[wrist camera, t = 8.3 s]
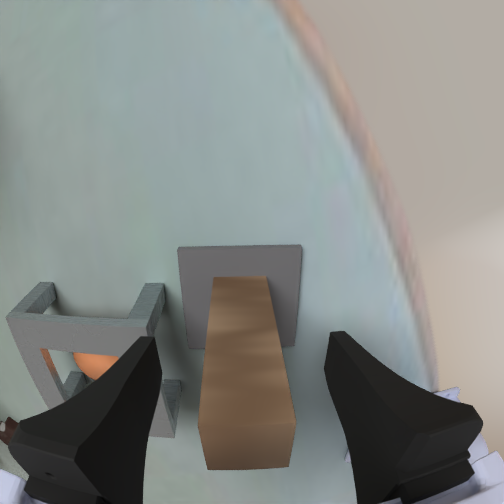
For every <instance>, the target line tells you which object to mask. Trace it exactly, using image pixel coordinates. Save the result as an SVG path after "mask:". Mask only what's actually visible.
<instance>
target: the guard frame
mask: <svg viewBox="0 0 504 504" xmlns="http://www.w3.org/2000/svg"><path fill="white" fill-rule="evenodd" d="M56 298H57V297H56V293H55V290H54V286H53V282H40V283H39V284H38V285H37V286H35V287H34V288H33V289H32V290H31V291H30V292H29V293H28V294H27V295H26V296H25V297H24V298H23V299H22V300H21V301H20V302H19V303H18V305H17V306H16V307H15V308H14V309H13V310H12V311H11V312H10V313H9V314H8V315H7V316H6V320H7V323H8V325H9V328H10V330H11V333H12V335H13V338H14V340H15V342H16V345H17V347H18V349H19V351H20V354H21V356H22V358H23V360H24V362H25V365H26V367H27V369H28V371H29V373H30V375H31V377H32V379H33V381H34V383H35V385H36V387H37V388H38V390H39V392H40V394H41V396H42V398H43V400H44V401H45V403H46V405H47V407H48V408H49V410H50V409H52V408H54V407H56V406H58V405H60V404H62V403H64V402H65V401H67V400H68V399H70V398H72V397H73V396H75V395H77V394H78V393H80V392H81V391H83V390H84V388H85V386H86V384H87V382H86V380H85V377H84V375H83V373H80V372H73V371H71V372H70V374H69V376H68V378H67V379H66V381H65V383H64V385H63V384H62V382H61V379H60V377H59V375H58V373H57V371H56V368H55V366H54V364H53V361H52V359H51V357H50V354H49V352H48V350H47V349H51V350H59V351H67V352H76V353H86V354H96V355H108V356H118V359H119V358H120V357H121V356H122V355H123V354H124V353H125V352H126V351H127V350H128V349H129V348H130V346H131V345H132V344H133V343H134V342H135V341H136V340H137V339H138V338H139V337H140V336H152V337H153V335H154V332H155V329H156V326H157V323H158V321H159V318H160V315H161V312H162V309H163V306H164V303H165V301H166V299H165V291H164V284H163V283H145V285H144V287H143V289H142V291H141V293H140V295H139V297H138V299H137V301H136V303H135V305H134V307H133V309H132V311H131V313H130V315H129V317H128V319H118V318H95V317H77V316H62V315H48V314H43V313H44V312H45V310H46V309H47V308H48V307H49V306H50V305H51V303H52V302H53V301H54V300H55V299H56ZM181 391H182V390H181V385H180V380H164V383H163V382H162V380H161V388H160V394H159V398H158V402H157V406H156V410H155V413H154V417H153V421H152V425H151V429H150V432H149V436H153V437H165V438H175V431H176V424H177V417H178V411H179V404H180V398H181Z"/></svg>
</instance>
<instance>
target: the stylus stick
mask: <svg viewBox="0 0 504 504" xmlns="http://www.w3.org/2000/svg"><path fill="white" fill-rule="evenodd" d="M295 428H296V418H295V413H294V408H293V403H292V398H291V393H290V388H289V383H288V378H287V374H286V369H285V364H284V359H283V354H282V349H281V344H280V340H279V335H278V330H277V325H276V320H275V316H274V311H273V306H272V301H271V296H270V292H269V287H268V282H267V278H266V276H236V277H213V285H212V293H211V302H210V310H209V319H208V328H207V337H206V346H205V355H204V365H203V375H202V385H201V396H200V407H199V418H198V429H199V434H200V438H201V443H202V447H203V452H204V456H205V461H206V465H207V469H208V470H250V469H269V468H282V467H289V462H290V456H291V451H292V445H293V440H294V434H295Z"/></svg>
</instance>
